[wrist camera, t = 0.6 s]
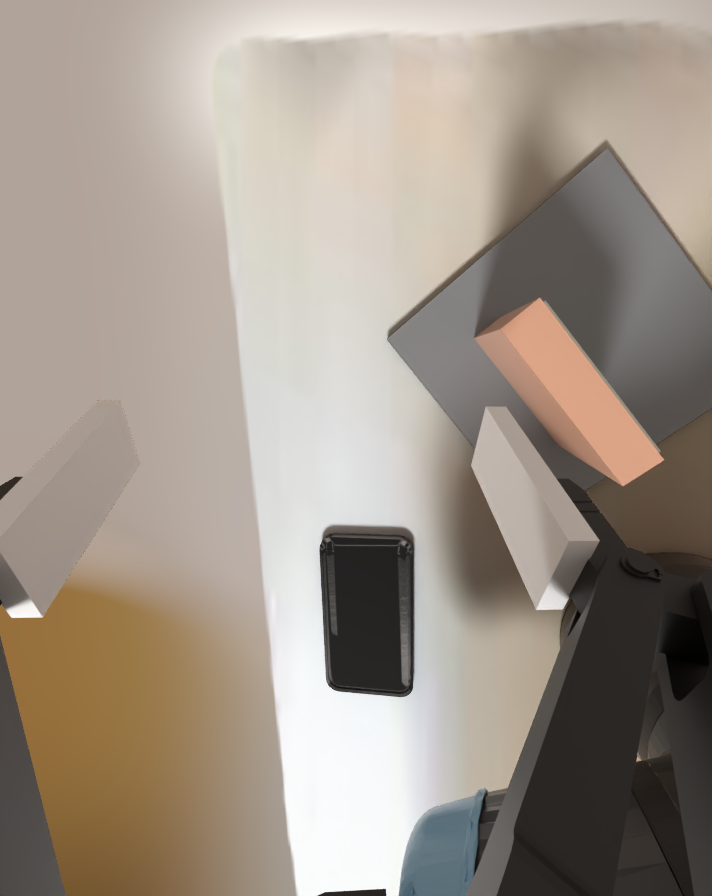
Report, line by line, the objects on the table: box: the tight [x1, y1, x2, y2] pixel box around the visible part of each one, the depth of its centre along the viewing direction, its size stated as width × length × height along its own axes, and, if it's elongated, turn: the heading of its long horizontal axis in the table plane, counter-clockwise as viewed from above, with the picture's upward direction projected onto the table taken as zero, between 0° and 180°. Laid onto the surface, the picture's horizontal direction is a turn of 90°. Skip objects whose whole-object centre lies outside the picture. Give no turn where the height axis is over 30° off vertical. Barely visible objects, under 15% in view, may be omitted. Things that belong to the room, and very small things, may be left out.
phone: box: [320, 533, 413, 697], centre depth 36 cm, size 8×1×15 cm
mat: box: [387, 148, 712, 491], centre depth 29 cm, size 18×18×1 cm
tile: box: [474, 298, 664, 486], centre depth 25 cm, size 10×2×10 cm, turn 41°
